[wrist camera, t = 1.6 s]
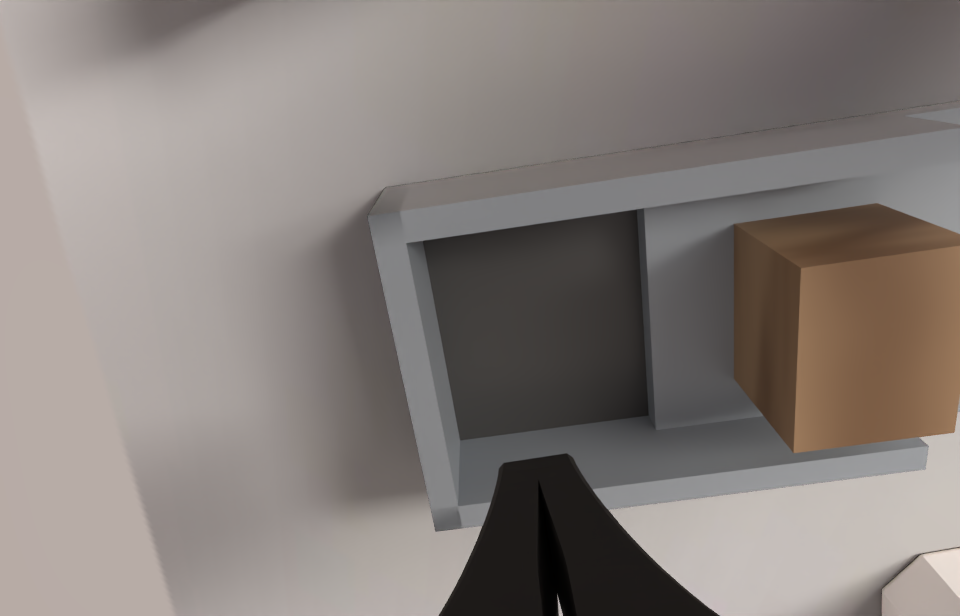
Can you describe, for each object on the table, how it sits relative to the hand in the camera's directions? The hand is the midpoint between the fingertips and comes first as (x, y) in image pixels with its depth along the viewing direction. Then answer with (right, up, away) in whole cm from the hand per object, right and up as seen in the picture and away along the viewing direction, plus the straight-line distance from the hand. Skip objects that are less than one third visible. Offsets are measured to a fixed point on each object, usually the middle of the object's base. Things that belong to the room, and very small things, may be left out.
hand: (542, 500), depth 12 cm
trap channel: (+9, +5, +8) cm, 12 cm away
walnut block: (+8, +4, +7) cm, 11 cm away
